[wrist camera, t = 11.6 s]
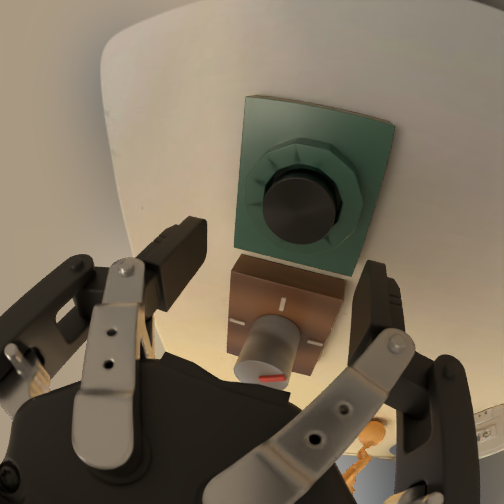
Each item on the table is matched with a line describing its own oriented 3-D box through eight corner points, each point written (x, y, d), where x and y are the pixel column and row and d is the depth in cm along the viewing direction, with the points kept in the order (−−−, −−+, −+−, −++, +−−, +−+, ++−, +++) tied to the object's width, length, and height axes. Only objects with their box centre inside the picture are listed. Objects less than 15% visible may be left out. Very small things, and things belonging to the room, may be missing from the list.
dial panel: (241, 253, 25) (230, 271, 23) (345, 280, 23) (343, 301, 21) (234, 335, 31) (225, 353, 29) (314, 357, 29) (310, 377, 27)
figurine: (374, 433, 36) (364, 501, 26) (339, 428, 37) (324, 497, 28) (396, 411, 31) (389, 491, 22) (357, 406, 33) (343, 488, 23)
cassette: (435, 430, 32) (435, 472, 26) (434, 426, 32) (433, 469, 26) (503, 406, 26) (508, 448, 20) (503, 401, 25) (509, 445, 19)
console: (255, 94, 18) (235, 97, 14) (390, 121, 16) (401, 130, 13) (242, 233, 24) (224, 260, 21) (352, 260, 22) (350, 293, 19)
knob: (265, 350, 27) (248, 395, 23) (243, 318, 25) (221, 365, 21) (307, 345, 25) (295, 394, 21) (288, 310, 23) (272, 361, 19)
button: (274, 161, 16) (266, 170, 15) (343, 177, 15) (342, 186, 14) (266, 222, 18) (258, 235, 17) (328, 237, 18) (326, 252, 16)
